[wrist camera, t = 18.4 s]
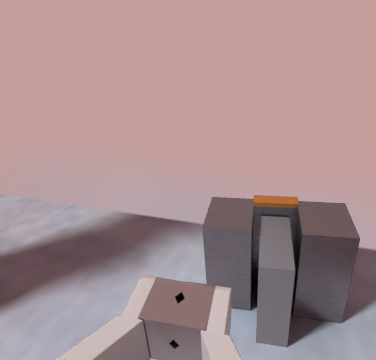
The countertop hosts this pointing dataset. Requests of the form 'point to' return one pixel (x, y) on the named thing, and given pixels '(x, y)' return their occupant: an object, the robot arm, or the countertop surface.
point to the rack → (302, 250)
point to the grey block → (275, 281)
